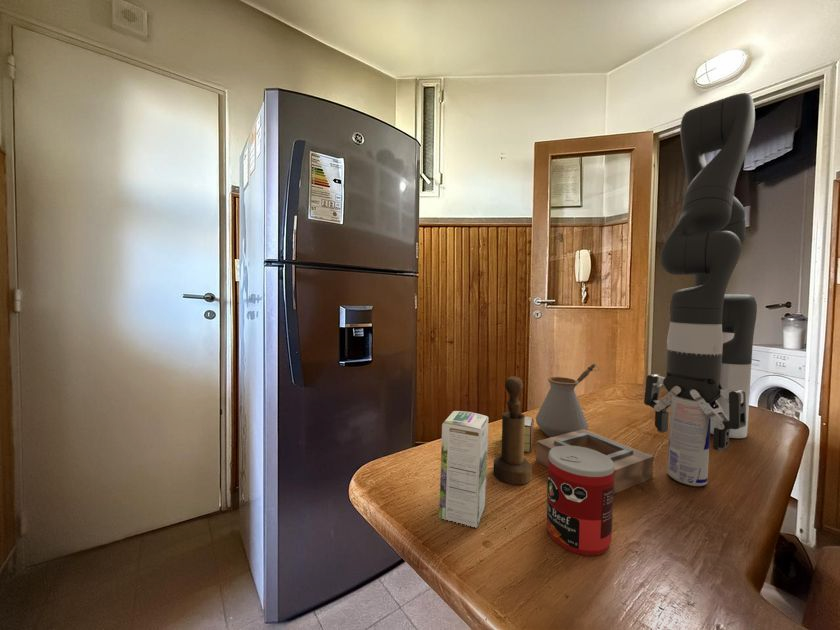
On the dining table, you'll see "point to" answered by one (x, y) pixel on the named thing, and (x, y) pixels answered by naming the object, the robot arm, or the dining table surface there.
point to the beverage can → (688, 442)
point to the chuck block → (627, 460)
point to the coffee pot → (562, 407)
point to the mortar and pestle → (513, 440)
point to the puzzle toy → (528, 434)
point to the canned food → (580, 499)
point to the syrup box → (463, 467)
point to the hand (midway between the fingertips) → (688, 439)
